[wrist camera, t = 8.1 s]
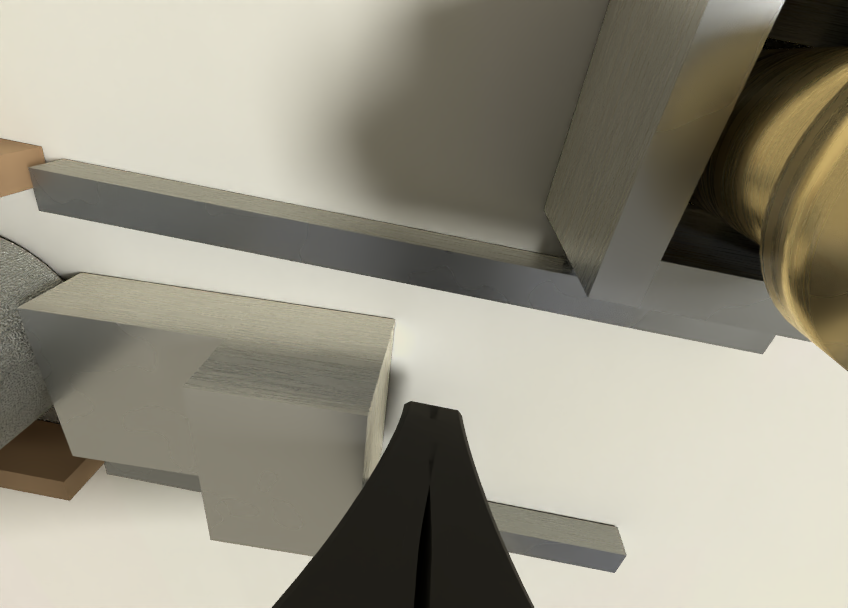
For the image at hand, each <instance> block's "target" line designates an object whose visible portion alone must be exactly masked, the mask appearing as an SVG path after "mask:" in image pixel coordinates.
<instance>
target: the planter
mask: <svg viewBox="0 0 848 608" xmlns="http://www.w3.org/2000/svg"><path fill="white" fill-rule="evenodd" d="M61 283H63V281H62V280H61V279H60V277H59V276H58V275H57V274H56V273H54V272H53V271H52V270H51V269H50V268H49V267H48V266H47V265H45V264H44V263H43V262H41V261H40V260H39V259H37V258H36V257H35V256H33V255H32V254H30V253H29V252H27V251H26V250H24V249H23V248H21V247H19V246H17V245H16V244H14V243H12V242H10V241H7V240H5V239H3V238H1V237H0V449H2V448H3V447H4V446H5V445H6V444H8V443H9V442H10V441H11V440H12V439H14V438H15V437H16V436H17V435H18V434H20V433H21V432H22V431H23V430H24V429H26V428H27V427H28V426H29V425H31V424H32V423H33V422H34V421H35V420H37V419H38V418H39V417H40V416H41V415H43V414H44V413H45V412H46V411H47V410H49V409H50V408H51V407H52V406H53V402H52V400H51V397H50V394H49V392H48V389H47V387H46V384H45V381H44V379H43V376H42V373H41V370H40V367H39V365H38V363H37V360H36V357H35V355H34V352H33V350H32V347H31V344H30V342H29V339H28V336H27V334H26V331H25V328H24V326H23V323H22V320H21V318H20V315H19V313H18V310H17V307H19V306H21V305H23V304H25V303H26V302H28V301H30V300H32V299H34V298H36V297H37V296H39V295H41V294H43V293H45V292H47V291H48V290H50V289H52V288H54V287H56V286H58V285H59V284H61Z"/></svg>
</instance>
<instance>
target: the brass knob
mask: <svg viewBox="0 0 848 608" xmlns="http://www.w3.org/2000/svg"><path fill="white" fill-rule="evenodd" d="M689 201H691V202H692V203H694V204H695V205H697V206H698V207H700V208H702V209H703V210H705V211H706V212H708V213H710V214H711V215H713V216H714V217H716V218H717V219H719V220H721V221H722V222H724V223H725V224H727V225H729V226H730V227H732V228H733V229H735V230H736V231H738V232H740V233H741V234H743V235H744V236H746V237H748V238H749V239H751V240H752V241H754V242H755V243H757V244H759V245H760V253H759V254H760V263H761V272H762V276H763V279H764V283H765V286H766V289H767V292H768V294H769V296H770V298H771V299H772V301H773V303H774V305H775V307H776V308H777V309H778V311H779V312H780V313H781V314H782V316H783V317H784V318H785V319H786V320H787V321H788V322H789V323H790V324H791V325H792V326H793V327H795V328H796V329H797V330H798V331H799V332H800V333H802V334H803V335H804V336H805V337H807V338H808V339H809V340H810V341H811V342H813V343H814V344H815V345H816V346H818V347H819V348H820V349H821V350H822V351H824V352H825V353H826V354H827V355H829V356H830V357H831V358H832V359H833V360H835V361H836V362H837V363H838V364H840V365H841V366H842V367H843V368H844V369H846V370H847V371H848V46H837V47H813V48H789V49H765V50H761V52H760V54H759V56H758V58H757V60H756V62H755V64H754V66H753V68H752V70H751V73H750V75H749V77H748V79H747V81H746V83H745V85H744V87H743V89H742V91H741V93H740V96H739V98H738V100H737V102H736V104H735V106H734V108H733V110H732V112H731V114H730V117H729V119H728V121H727V123H726V125H725V127H724V129H723V131H722V133H721V135H720V137H719V140H718V142H717V144H716V146H715V148H714V150H713V152H712V154H711V156H710V158H709V161H708V163H707V165H706V167H705V169H704V171H703V173H702V175H701V177H700V179H699V181H698V184H697V186H696V188H695V190H694V192H693V194H692V196H691V198H690V200H689Z"/></svg>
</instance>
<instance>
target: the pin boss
mask: <svg viewBox="0 0 848 608" xmlns="http://www.w3.org/2000/svg"><path fill="white" fill-rule="evenodd" d="M767 37H768V38H773V39H778V40H783V41H787V42H792V43H797V44H802V45H807V46H812V47H837V46H848V0H610V2H609V5H608V8H607V11H606V14H605V18H604V21H603V24H602V27H601V30H600V33H599V36H598V40H597V43H596V46H595V49H594V52H593V55H592V59H591V62H590V65H589V68H588V71H587V74H586V78H585V81H584V84H583V87H582V90H581V93H580V97H579V100H578V103H577V106H576V109H575V112H574V116H573V119H572V122H571V125H570V128H569V131H568V134H567V138H566V141H565V144H564V147H563V150H562V153H561V157H560V160H559V163H558V166H557V169H556V172H555V176H554V179H553V182H552V185H551V188H550V191H549V195H548V198H547V201H546V204H545V207H544V211H545V213H546V215H547V217H548V219H549V221H550V223H551V225H552V227H553V229H554V231H555V233H556V235H557V237H558V239H559V241H560V243H561V245H562V247H563V249H564V251H565V253H566V255H567V256H566V261H567V263H568V265H569V267H570V269H571V271H572V272H575V273H576V275H577V277H578V279H579V281H580V283H581V285H582V287H583V289H584V291H585V293H586V295H587V297H588V298H593V299H598V300H603V301H608V302H613V303H618V304H623V305H628V306H633V307H638V308H643V309H648V310H653V311H658V312H663V313H668V314H673V315H678V316H683V317H688V318H693V319H698V320H703V321H708V322H713V323H718V324H723V325H728V326H733V327H738V328H743V329H749V330H754V331H759V332H764V333H769V334H774V335H779V336H784V337H789V338H794V339H799V340H804V341H809V342H811V341H810V340H809V339H808V338H807V337H805V336H804V335H803V334H802V333H800V332H799V331H798V330H797V329H796V328H795V327H793V326H792V325H791V324H790V323H789V322H788V321H787V320H786V319H785V318H784V317H783V316H782V314H781V313H780V312H779V311H778V309H777V308H776V307H775V305H774V303H773V301H772V299H771V298H770V296H769V294H768V292H767V289H766V286H765V283H764V279H763V276H762V272H761V263H760V254H759V253H760V245H759V244H757V243H755V242H754V241H752V240H751V239H749V238H748V237H746V236H744V235H743V234H741V233H740V232H738V231H736V230H735V229H733V228H732V227H730V226H729V225H727V224H725V223H724V222H722V221H721V220H719V219H717V218H716V217H714V216H713V215H711V214H710V213H708V212H706V211H705V210H703V209H702V208H700V207H698V206H694V205H689V204H688V202H689V200H690V198H691V196H692V194H693V192H694V190H695V188H696V186H697V184H698V181H699V179H700V177H701V175H702V173H703V171H704V169H705V167H706V165H707V163H708V161H709V158H710V156H711V154H712V152H713V150H714V148H715V146H716V144H717V142H718V140H719V137H720V135H721V133H722V131H723V129H724V127H725V125H726V123H727V121H728V119H729V117H730V114H731V112H732V110H733V108H734V106H735V104H736V102H737V100H738V98H739V96H740V93H741V91H742V89H743V87H744V85H745V83H746V81H747V79H748V77H749V75H750V73H751V70H752V68H753V66H754V64H755V62H756V60H757V58H758V56H759V54H760V52H761V49H762V47H763V45H764V43H765V41H766V39H767Z"/></svg>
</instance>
